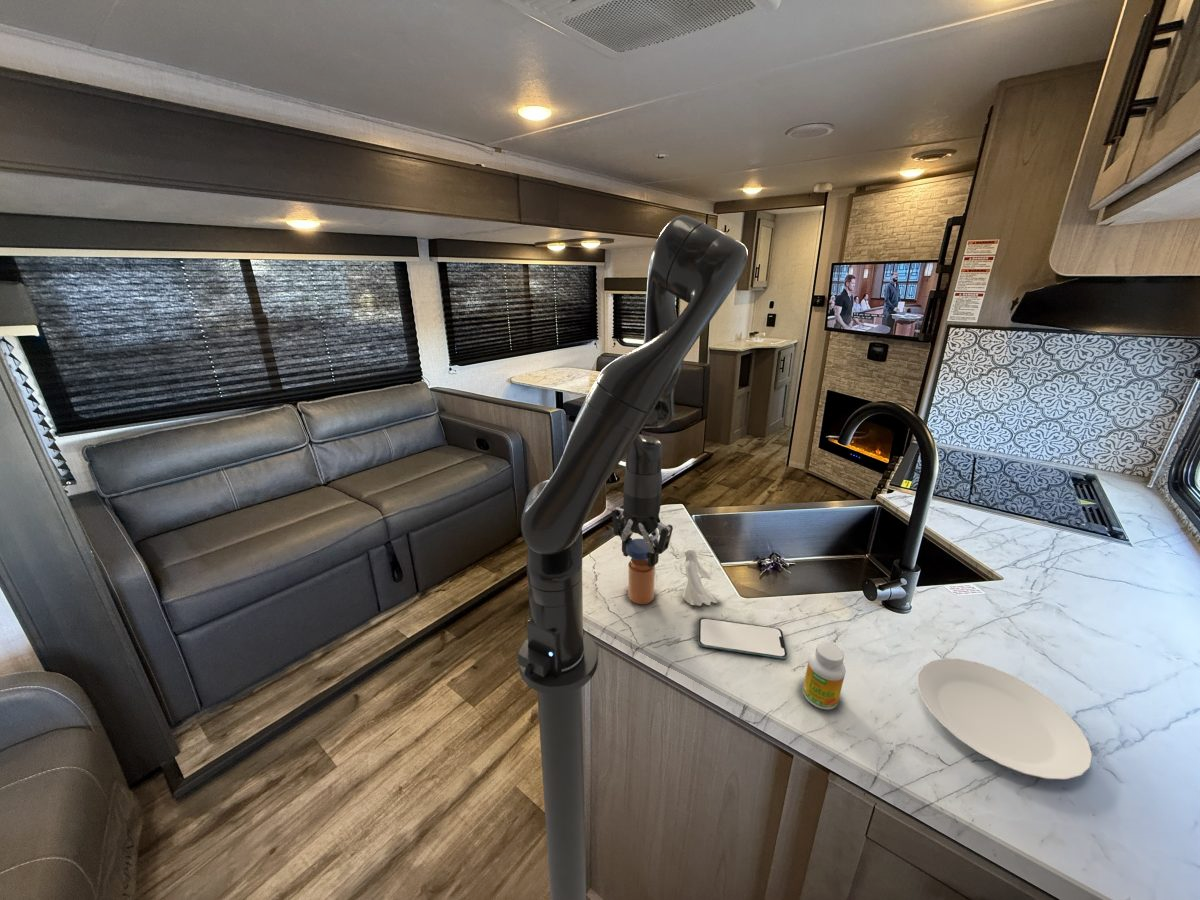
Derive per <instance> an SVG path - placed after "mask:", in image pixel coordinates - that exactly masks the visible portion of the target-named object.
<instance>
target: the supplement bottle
mask: <svg viewBox="0 0 1200 900" xmlns="http://www.w3.org/2000/svg"><path fill="white" fill-rule="evenodd" d="M844 659H845V653H844V651H843V650H842V649H841V648H840V647H839V646H838V645H836V644H834V643H832V642H828V641H822V642H819V643H818V644H817V645H816V647H815V651H814V652H812V653H811V654H810V656H809V657H808V662H807V666H806V672H805V677H804V682H803V686H802V693H803V696H804V697H805V699H806V700H807V701H808V702H809V703H810V704H811V705H812V706H814V707H816V708H818V709H820V710H821V709H822V710H832V709H834V708H836V707H837V706H838V703H839V700H840V696H841V692H842V688H843V683H844V680H845V676H846V671H847V670H846V665H845V663H844Z"/></svg>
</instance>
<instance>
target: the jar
mask: <svg viewBox="0 0 1200 900" xmlns="http://www.w3.org/2000/svg"><path fill="white" fill-rule="evenodd" d="M655 572H656V565H655V566H653V567H652V568H650V567H648V559H643V560H639V559H634V558H631V557H630V561H629V562H628V573H627V575H628V576H627V577H628V579H627V581H628V583H627V585H628V587H627V597H628V599H629V600H630V601H631V602H632V603H634V604H637V605H646V604H650V603H651V602H652V601H653V600H654V598H655V578H656V577H655V576H656V575H655V574H656V573H655Z"/></svg>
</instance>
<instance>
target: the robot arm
mask: <svg viewBox="0 0 1200 900" xmlns="http://www.w3.org/2000/svg"><path fill="white" fill-rule="evenodd" d="M747 261H748V249H747V246H746V245H745V244H744V243H742V242H741V241H740V240H738V239H736V238H734V237H732V236H730V235H729V234H726V233H724V232H722V231H721V230H718V229H717V228H715V227H713V226H711V225H709V224H707V223H705V222H703V221H701V220H699V219H697V218H694V217H692V216H690V215H686V214H680V215H677V216H675V217H674V218H672V219H671V220H669V222H668V223H667V224H666V225H665V226H664V228H663V229H662V230H661V232H660V234H659V235H658V237H657V239H656V240H655V244H654V246H653V249H652V252H651V256H650V260H649V265H648V270H647V271H648V272H647V282H646V283H647V284H646V296H645V297H646V299H645V317H644V335H643V336H644V337H643V344H641V345H640V346H638V347H636V348H633V349H631V350H630V351H628V352H626V353H624V354H622V355H620V356H618V357H617V358H615V359H614V360H612V361H611V362H610V363H608V364H607V365H606V366H605V367H603V368H602V370H601V371H600V373H599V374H598V375H597V378H596V380H595V381H594V383H593V384H592V387H591V388H590V390H589V392H588V393H587V395H586V397H585V399H584V401H583V403H582V405H581V407H580V410H579V411H578V413H577V416H576V417H575V420H574V423H573V425H572V428H571V431H570V433H569V436H568V438H567V441H566V443H565V447H564V450H563V453H562V455H561V457H560V460H559V462H558V464H557V466H556V468H555V470H554V471H553V473H552V475H551V477H550V478H549V479H547V480H543V481H542V482H539V483H537V484H535V486H534V487H533V488H532V489H531V490H530V492H529V493H528V495H527V497H526V499H525V504H524V507H523V510H522V513H521V520H520V530H521V536H522V538H523V541H524V542H525V544H526V546H527V553H526V577H527V591H528V593H527V594H528V608H529V619H528V620H527V621H526V634H527V635H526V637H527V639H528V645H526V646H525V647H524V648H523V649H522V650H521V651H520V650H519V651H520V652H518V653H517V664H519V665H521V666H523V667H525V668H526V669H525V676H526V677H529V676H531V675H533V674H534V673H536V674H538V675H540V676H542V677H544V676H545V675H546V674H549V675H551V676H553V677H555V678H558V677H559V676H560V675H561V674H564V673H567V672H570V671H572V670H574V669H575V668H576V667H577V666H579V664H580V663H581V662H582V660H583V657H584V645H583V635H584V632H585V629H584V601H583V598H584V596H583V595H584V594H583V527H584V525H585V523H586V521H587V518H588V516H589V514H590V512H591V510H592V508H593V506H594V504H595V501H596V500H597V498H598V496H599V494H600V492H601V491H602V488H603V487H604V485H605V484H606V483H607V481H608V480H609V479H610V477H611V475H612V474H613V473H614V472H615V470H616V468H617V467H618V466H619V464H620V463H621V461H622V460H623V458H624V456H625V470H624V477H623V502H622V506H621V505H619V506H617V507H615V508H614V509H612V510H611V519H612V527H613V534H614V536H617V537H619V538H620V540H621V553H622V555H623V556H624V557H626V558H627V557H629V555H628V554H627V552H626V545H627V543H628V542H629V541H630V540H633V538H632V536H633V534H638V535H639V536H641V537H642V539H644V542H645V543H647V545H648V549H649V552H648V567H650V568H652V567H653V566H655V567H656V565H657V564H658V563H659V557H660V556H659V555H661V554H663V553H664V552H665V551H666V550H668V549H669V546H670V542H671V538H672V533H673V529H674V527H673V525H671V524H668V525H666V524H664V523H662V521H661V519H660V511H661V504H662V503H661V502H662V485H663V478H662V477H663V473H662V465H663V464H662V463H663V443H662V442H661V440H660V439H658V438H655V437H652V436H647V435H643V434H640V433H641V431H642V430H643V429H651V428H653V429H655V428H656V429H657V428H664V427H666V426H668V425H669V424H670V423H672V421H673V420H674V417H675V387H676V384H677V382H678V379H679V378H680V377H679V376H680V374H681V371H682V368H683V365H684V360H685V358H686V357H687V356H688V353H689V352H690V350H691V349H693V347H694V345H695V343H696V342H697V340H698V339H699V338H700V336H701V335H702V333H703V332H704V331H705V329H706V328H707V326H708V325H709V323H710V322H711V321H712V319H713V318H714V317H715V315H716V314H717V312H718V311H719V310H720V308H721V307H722V305H723V304H724V302H725V301H726V300H727V298H728V297H729V295H730V293H731V292H732V290H733V289H734V287H735V286H736V284H737V283H738V281H739V279H740V277H741V275H742V273H743V271H744V269H745V266H746V263H747ZM676 298H678V299H680V300H682V301H684V302H685V303H687V305H686V306H685V308H684V309H683V310H682V312H681V313H680V314H679V316H678V315H677V309H676ZM625 522H626V525H625ZM657 529H658V530H657ZM519 665H518V666H519Z"/></svg>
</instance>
